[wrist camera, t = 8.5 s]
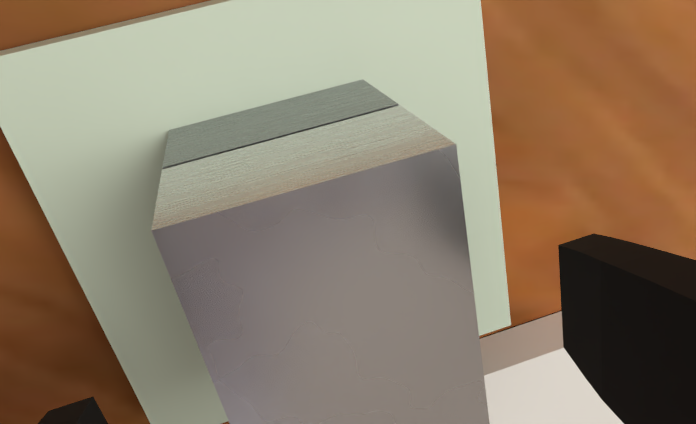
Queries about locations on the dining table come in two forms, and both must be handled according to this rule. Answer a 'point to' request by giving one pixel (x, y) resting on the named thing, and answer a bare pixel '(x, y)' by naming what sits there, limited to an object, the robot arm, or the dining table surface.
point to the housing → (324, 262)
